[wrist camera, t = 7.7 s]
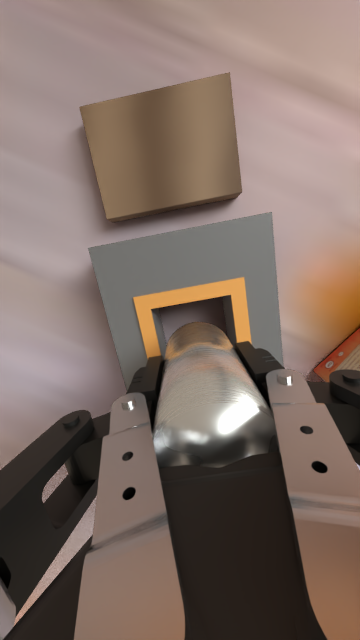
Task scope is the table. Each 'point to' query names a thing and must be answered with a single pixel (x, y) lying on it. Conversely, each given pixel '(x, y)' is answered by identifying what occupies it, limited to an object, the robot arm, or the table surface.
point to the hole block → (190, 285)
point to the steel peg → (208, 403)
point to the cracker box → (341, 358)
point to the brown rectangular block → (165, 148)
